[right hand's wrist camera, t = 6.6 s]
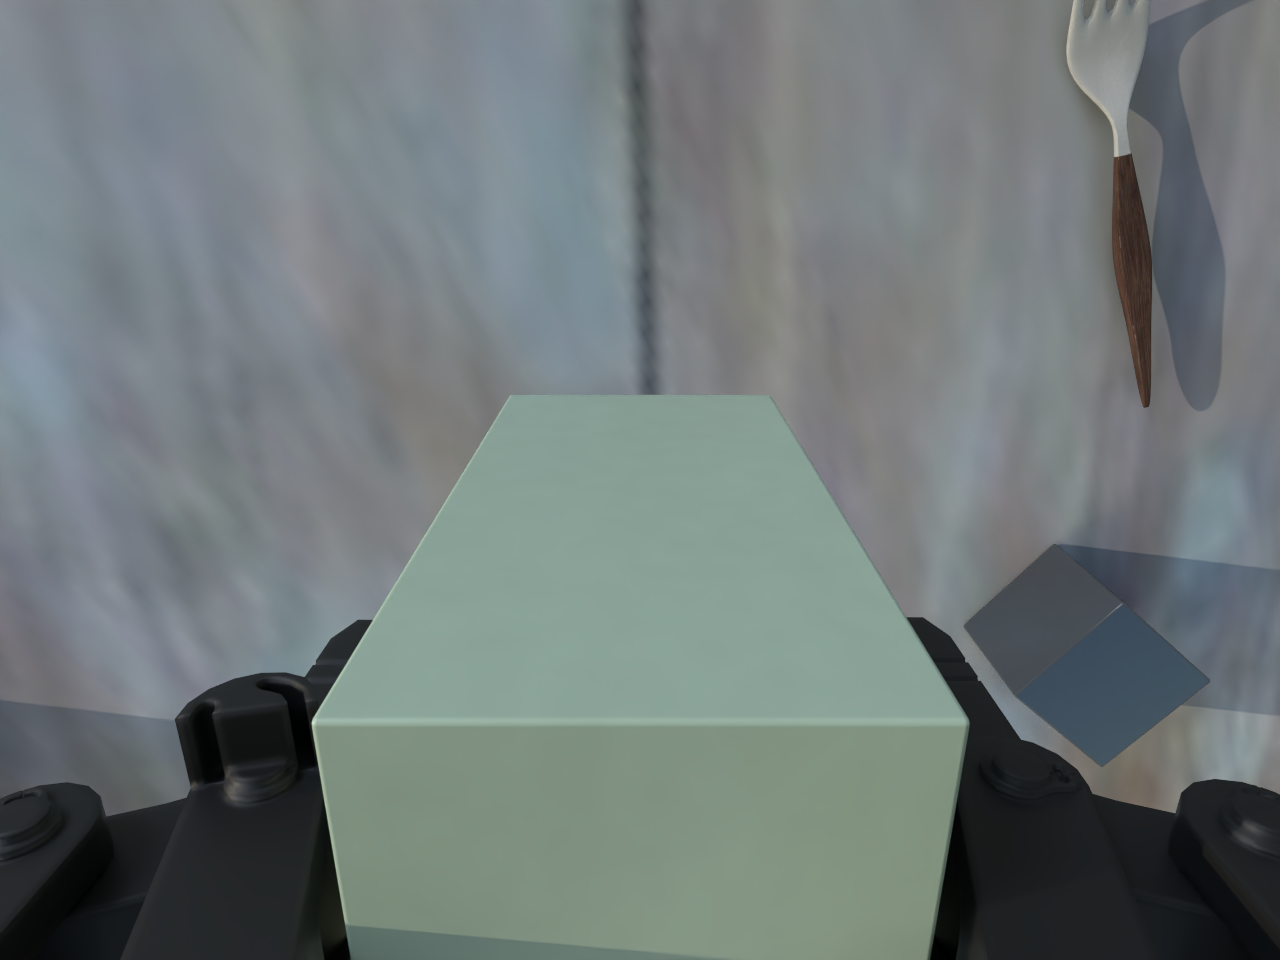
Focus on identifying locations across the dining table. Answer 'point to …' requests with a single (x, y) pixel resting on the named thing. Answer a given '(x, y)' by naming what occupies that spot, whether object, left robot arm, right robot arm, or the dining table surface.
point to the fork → (1120, 153)
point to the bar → (640, 709)
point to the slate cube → (1082, 657)
